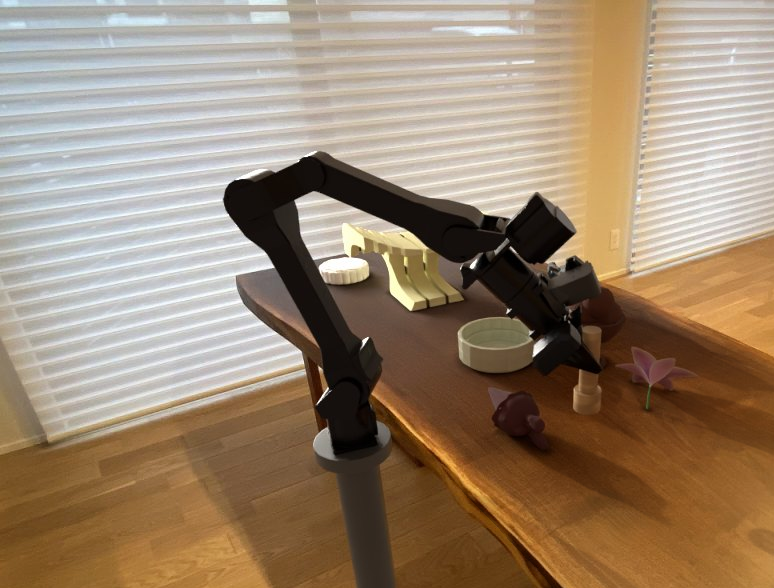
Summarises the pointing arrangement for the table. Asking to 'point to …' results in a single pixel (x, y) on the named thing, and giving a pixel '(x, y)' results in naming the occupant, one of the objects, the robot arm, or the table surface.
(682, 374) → the lily
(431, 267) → the slatted curved stool
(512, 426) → the icecream
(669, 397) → the table surface
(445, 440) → the table surface
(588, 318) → the ice cream bowl
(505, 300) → the robot arm
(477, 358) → the bowl
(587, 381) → the cylinder
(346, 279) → the mooncake
